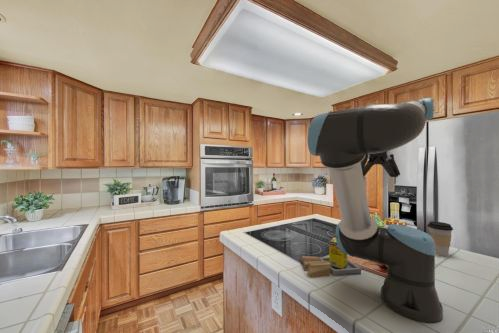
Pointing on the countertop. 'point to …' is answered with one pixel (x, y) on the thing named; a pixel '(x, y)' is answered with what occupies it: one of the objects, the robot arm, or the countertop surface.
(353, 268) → the tray
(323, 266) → the block
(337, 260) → the supplement box
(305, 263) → the brown wooden block
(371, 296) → the countertop surface
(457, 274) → the countertop surface
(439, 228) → the coffee cup
